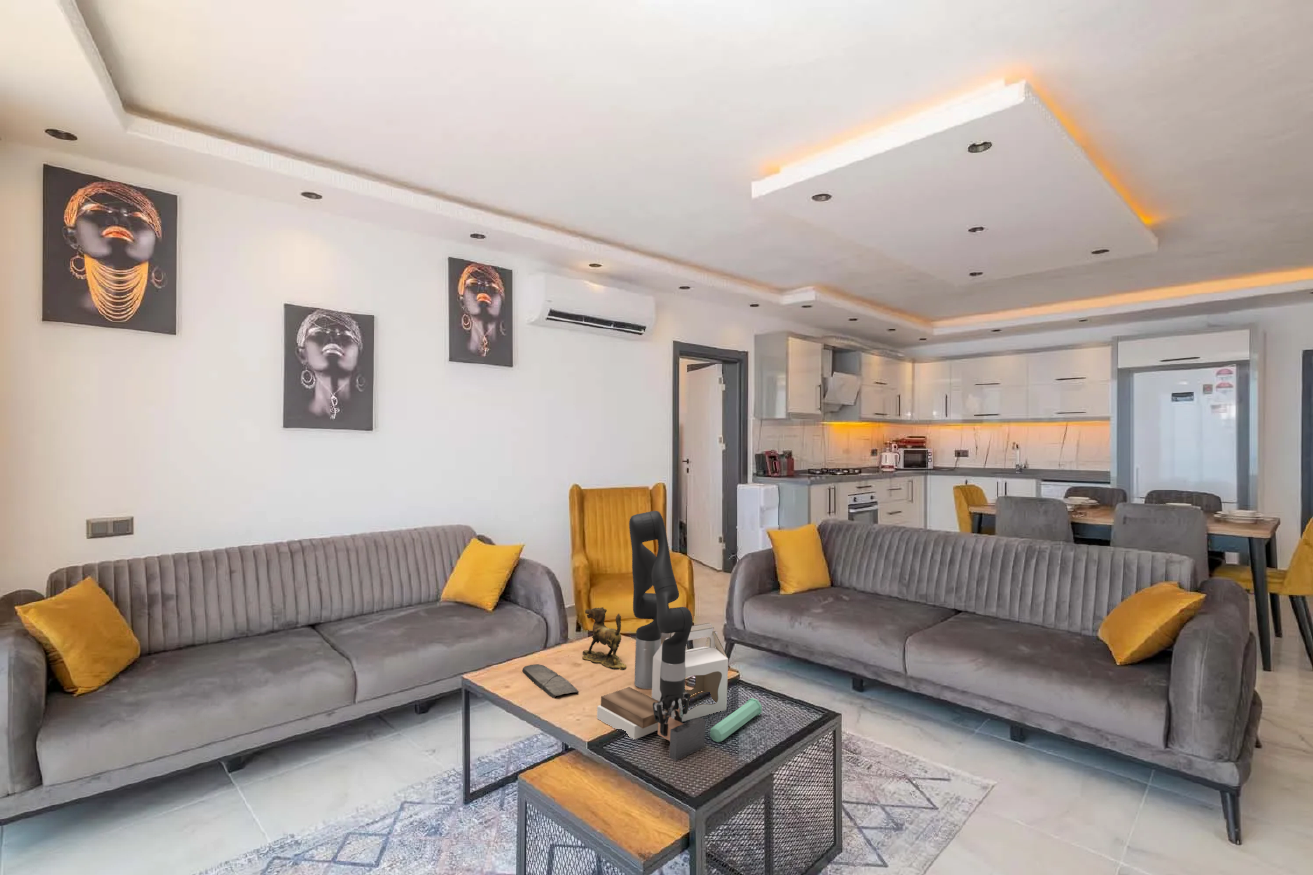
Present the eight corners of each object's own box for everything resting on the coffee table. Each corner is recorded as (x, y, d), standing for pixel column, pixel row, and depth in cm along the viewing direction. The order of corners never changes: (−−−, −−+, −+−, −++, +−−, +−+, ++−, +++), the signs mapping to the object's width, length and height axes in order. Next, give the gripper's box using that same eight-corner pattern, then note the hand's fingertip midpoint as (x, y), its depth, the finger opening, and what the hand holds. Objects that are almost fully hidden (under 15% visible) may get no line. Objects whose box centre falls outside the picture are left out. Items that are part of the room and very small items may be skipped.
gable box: (672, 724, 198) (675, 636, 198) (650, 708, 209) (653, 624, 209) (727, 710, 210) (730, 626, 209) (704, 695, 221) (706, 616, 221)
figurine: (599, 648, 265) (600, 600, 264) (636, 666, 246) (638, 615, 246) (573, 654, 256) (575, 605, 256) (610, 673, 237) (612, 620, 237)
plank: (629, 695, 209) (629, 686, 209) (671, 716, 194) (671, 707, 194) (600, 705, 200) (601, 696, 200) (642, 728, 186) (643, 718, 186)
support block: (669, 729, 190) (670, 716, 190) (683, 736, 185) (684, 723, 185) (657, 734, 186) (658, 721, 186) (671, 742, 182) (672, 728, 182)
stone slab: (544, 661, 243) (580, 685, 218) (544, 669, 243) (580, 694, 218) (519, 666, 237) (553, 692, 213) (519, 675, 237) (553, 701, 213)
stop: (698, 743, 186) (699, 717, 186) (704, 747, 184) (705, 720, 184) (669, 757, 178) (670, 729, 178) (675, 760, 176) (676, 732, 176)
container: (719, 724, 186) (759, 696, 206) (703, 726, 189) (744, 698, 209) (725, 745, 185) (764, 715, 205) (709, 746, 188) (749, 716, 208)
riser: (629, 706, 210) (630, 694, 210) (667, 725, 197) (667, 713, 197) (596, 718, 200) (597, 705, 200) (634, 739, 187) (634, 726, 187)
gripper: (680, 666, 193) (678, 720, 193) (646, 677, 183) (644, 735, 183) (698, 673, 188) (696, 729, 188) (664, 685, 178) (662, 744, 178)
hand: (670, 732), depth 186 cm, fingers closed on support block, 5 cm apart
